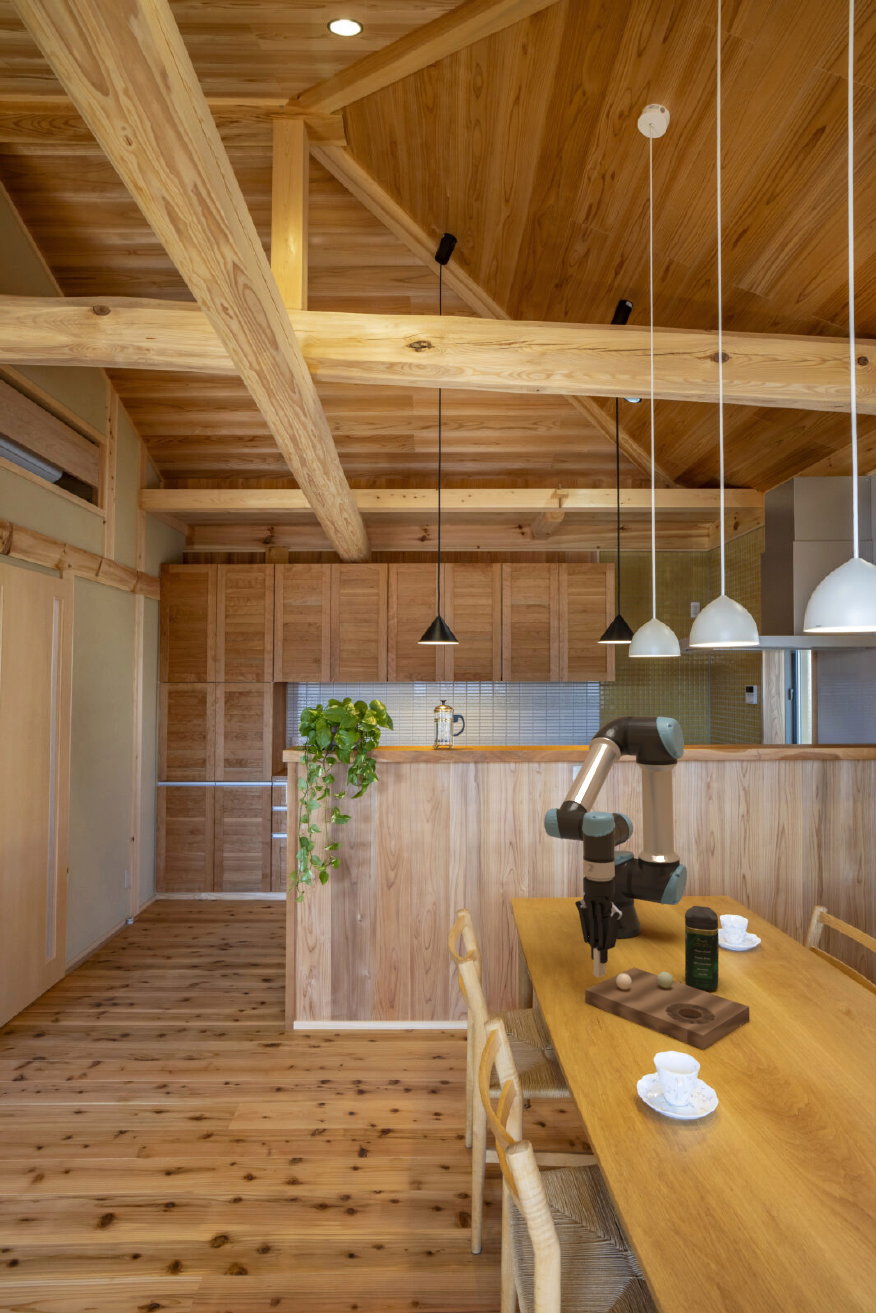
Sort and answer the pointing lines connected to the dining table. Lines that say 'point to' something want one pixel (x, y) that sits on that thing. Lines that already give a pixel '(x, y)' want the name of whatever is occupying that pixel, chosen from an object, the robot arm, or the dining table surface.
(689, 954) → the coffee jar
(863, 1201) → the dining table surface
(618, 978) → the cream ball
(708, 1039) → the board
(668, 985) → the sage ball
